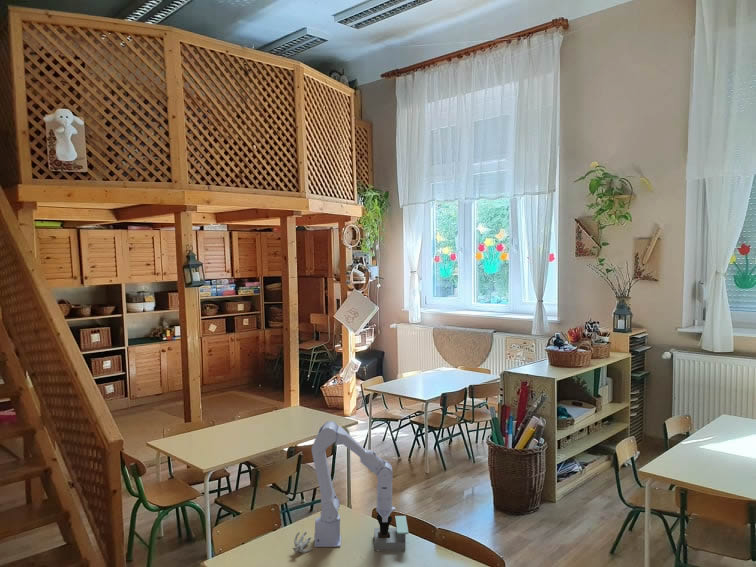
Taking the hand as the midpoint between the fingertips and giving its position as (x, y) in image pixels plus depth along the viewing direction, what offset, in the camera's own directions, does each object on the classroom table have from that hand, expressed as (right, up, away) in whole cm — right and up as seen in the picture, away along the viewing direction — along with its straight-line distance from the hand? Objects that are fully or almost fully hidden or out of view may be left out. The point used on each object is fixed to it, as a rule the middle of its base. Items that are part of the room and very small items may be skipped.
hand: (384, 532), depth 203 cm
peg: (0, -3, 0) cm, 3 cm away
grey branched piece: (-30, -4, -4) cm, 31 cm away
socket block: (+2, -4, 0) cm, 4 cm away
